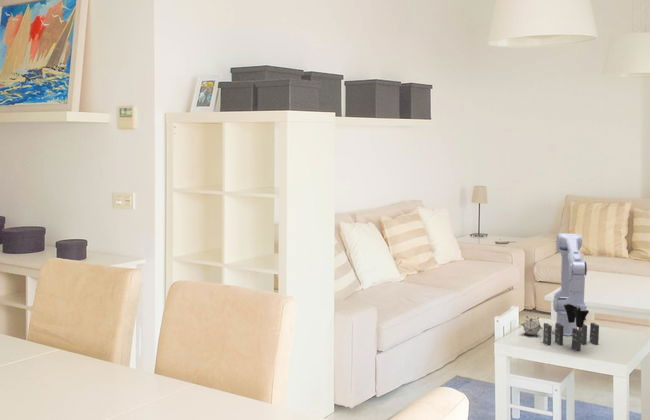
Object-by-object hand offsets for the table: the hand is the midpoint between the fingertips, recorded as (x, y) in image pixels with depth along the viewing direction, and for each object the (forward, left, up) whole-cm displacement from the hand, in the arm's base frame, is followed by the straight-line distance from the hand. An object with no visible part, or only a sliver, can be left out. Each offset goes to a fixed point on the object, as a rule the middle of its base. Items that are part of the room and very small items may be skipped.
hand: (575, 324), depth 304 cm
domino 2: (-3, -9, -10) cm, 14 cm away
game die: (-7, -23, -10) cm, 26 cm away
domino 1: (0, -12, -10) cm, 15 cm away
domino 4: (-11, -2, -10) cm, 15 cm away
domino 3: (0, +1, -10) cm, 10 cm away
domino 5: (-15, +1, -10) cm, 18 cm away
